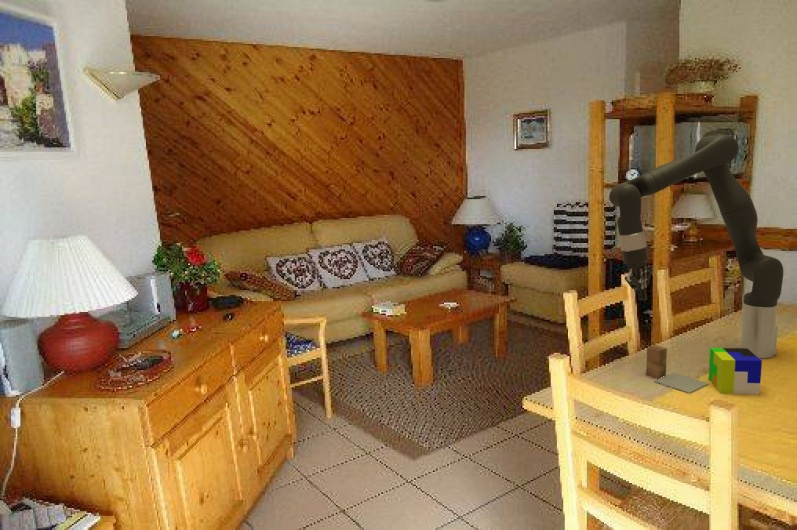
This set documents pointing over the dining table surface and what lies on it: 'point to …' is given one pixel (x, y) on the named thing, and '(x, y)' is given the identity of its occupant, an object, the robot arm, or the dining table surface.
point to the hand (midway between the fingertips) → (643, 299)
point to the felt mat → (681, 382)
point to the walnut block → (656, 361)
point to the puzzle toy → (735, 370)
